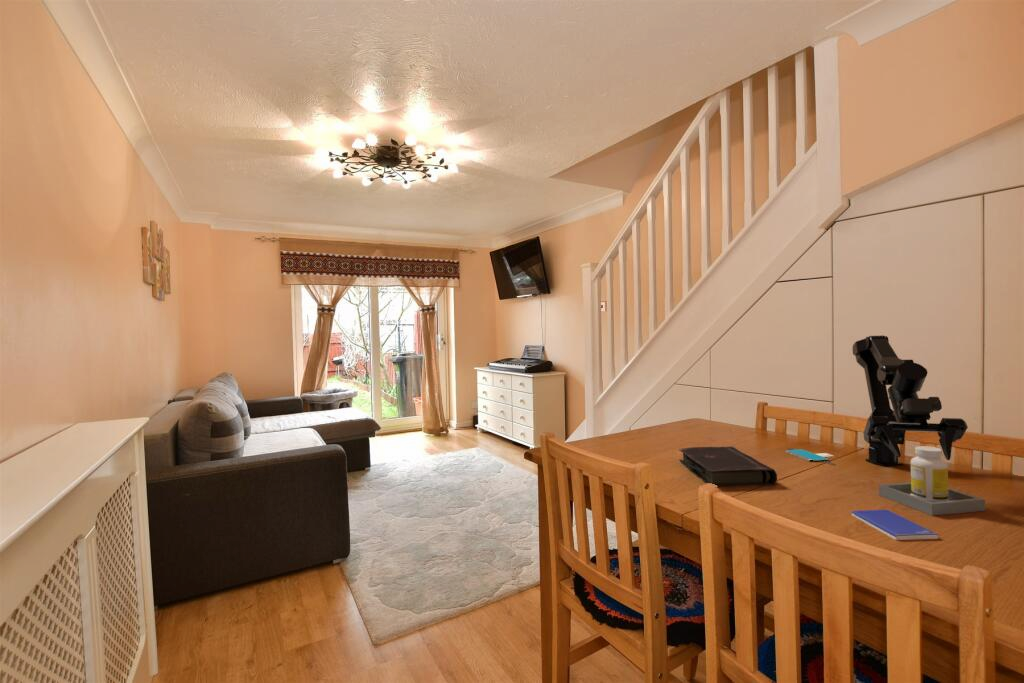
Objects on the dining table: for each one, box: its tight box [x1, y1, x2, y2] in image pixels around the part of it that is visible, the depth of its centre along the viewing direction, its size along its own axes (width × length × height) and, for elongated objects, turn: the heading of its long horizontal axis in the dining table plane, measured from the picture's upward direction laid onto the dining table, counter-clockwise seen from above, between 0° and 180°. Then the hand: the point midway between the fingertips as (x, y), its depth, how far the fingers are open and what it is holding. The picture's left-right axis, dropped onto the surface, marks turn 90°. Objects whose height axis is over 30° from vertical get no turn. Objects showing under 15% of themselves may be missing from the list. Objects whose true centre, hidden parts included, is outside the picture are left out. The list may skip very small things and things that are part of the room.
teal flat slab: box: [785, 447, 836, 466], centre depth 149 cm, size 20×12×2 cm, turn 5°
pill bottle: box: [910, 445, 949, 502], centre depth 108 cm, size 6×6×12 cm
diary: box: [678, 446, 778, 488], centre depth 137 cm, size 19×25×5 cm
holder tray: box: [878, 481, 986, 517], centre depth 108 cm, size 13×13×2 cm
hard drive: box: [851, 509, 939, 541], centre depth 97 cm, size 2×8×12 cm
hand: (923, 457), depth 110 cm, fingers open, 9 cm apart
